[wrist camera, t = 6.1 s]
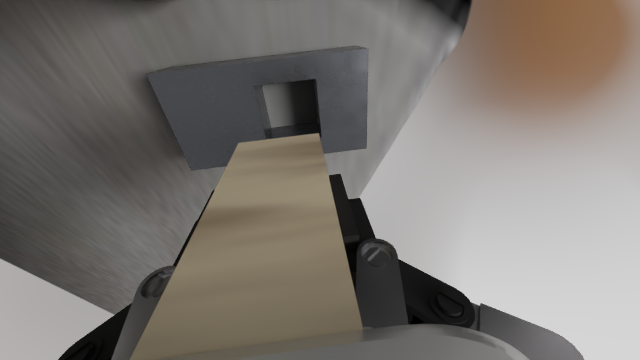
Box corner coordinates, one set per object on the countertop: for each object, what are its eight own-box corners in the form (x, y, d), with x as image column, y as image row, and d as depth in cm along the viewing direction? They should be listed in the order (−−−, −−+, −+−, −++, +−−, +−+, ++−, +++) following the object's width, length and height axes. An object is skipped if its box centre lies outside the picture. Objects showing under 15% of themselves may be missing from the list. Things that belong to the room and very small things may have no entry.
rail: (356, 132, 31) (366, 148, 26) (205, 151, 30) (191, 170, 26) (355, 45, 25) (368, 48, 21) (171, 67, 25) (146, 74, 20)
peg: (325, 196, 15) (380, 506, 5) (257, 205, 15) (187, 537, 5) (318, 133, 13) (399, 488, 3) (238, 142, 13) (35, 547, 3)
